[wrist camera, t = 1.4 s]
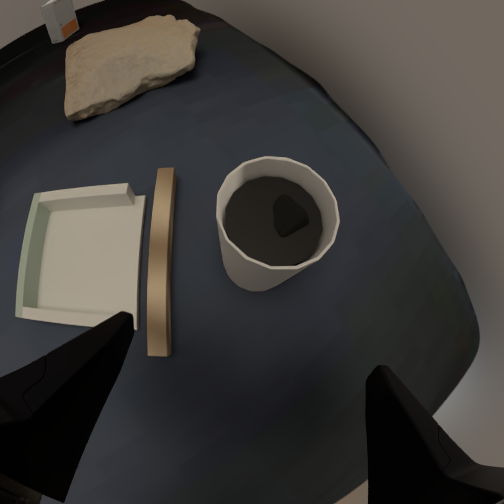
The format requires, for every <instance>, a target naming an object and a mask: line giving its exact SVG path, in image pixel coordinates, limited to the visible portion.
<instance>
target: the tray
mask: <svg viewBox="0 0 504 504" xmlns="http://www.w3.org/2000/svg"><path fill="white" fill-rule="evenodd" d="M146 199H147V198H146V196H135V195H134V193H133V191H132V190H131V188H130V186H129V184H128V183H124V184H112V185H101V186H90V187H81V188H73V189H64V190H57V191H50V192H43V193H36V194H34V197H33V201H32V205H31V209H30V213H29V217H28V221H27V225H26V230H25V235H24V240H23V246H22V252H21V258H20V266H19V274H18V283H17V295H16V314H15V317H20V318H26V319H33V320H39V321H46V322H54V323H62V324H71V325H80V326H90V327H94V326H96V325H98V324H99V323H101V322H103V321H105V320H106V319H108V318H110V317H111V316H113V315H115V314H117V313H118V312H120V311H125V312H128V313H131V314H132V315H133V318H134V330H139V282H140V262H141V248H142V236H143V225H144V216H145V207H146Z"/></svg>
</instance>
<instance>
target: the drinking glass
mask: <svg viewBox="0 0 504 504" xmlns="http://www.w3.org/2000/svg"><path fill="white" fill-rule="evenodd" d="M216 218H217V225H218V232H219V238H220V245H221V252H222V258H223V265H224V267H225V270H226V272H227V274H228V277H229V278H230V279H231V280H232V281H233V282H234V283H235V284H236V285H237V286H239V287H241V288H244V289H246V290H249V291H266V290H268V289H270V288H273V287H275V286H277V285H279V284H280V283H282V282H284V281H285V280H287V279H288V278H290V277H292V276H293V275H295V274H297V273H298V272H300V271H302V270H303V269H305V268H306V267H308V266H310V265H311V264H313V263H314V262H316V261H318V260H319V259H320V258H321V257H322V256H323V255H324V253H325V252H326V251H327V250H328V249H329V248H330V247H331V245H332V244H333V243H334V241H335V237H336V233H337V230H338V226H339V222H340V221H339V214H338V207H337V201H336V199H335V197H334V195H333V193H332V192H331V190H330V188H329V186H328V185H327V183H326V181H325V180H324V179H322V178H321V177H320V176H319V175H318V174H317V173H316V172H314V171H313V170H312V169H311V168H310V167H309V166H306V165H304V164H301V163H299V162H297V161H294V160H292V159H289V158H283V157H269V156H265V157H261V158H257V159H254V160H250V161H247V162H244V163H243V164H241V165H240V166H239V167H237V168H236V169H235V170H234V171H232V172H231V173H230V174H228V175H227V177H226V179H225V181H224V183H223V185H222V186H221V188H220V190H219V192H218V194H217V216H216Z"/></svg>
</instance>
